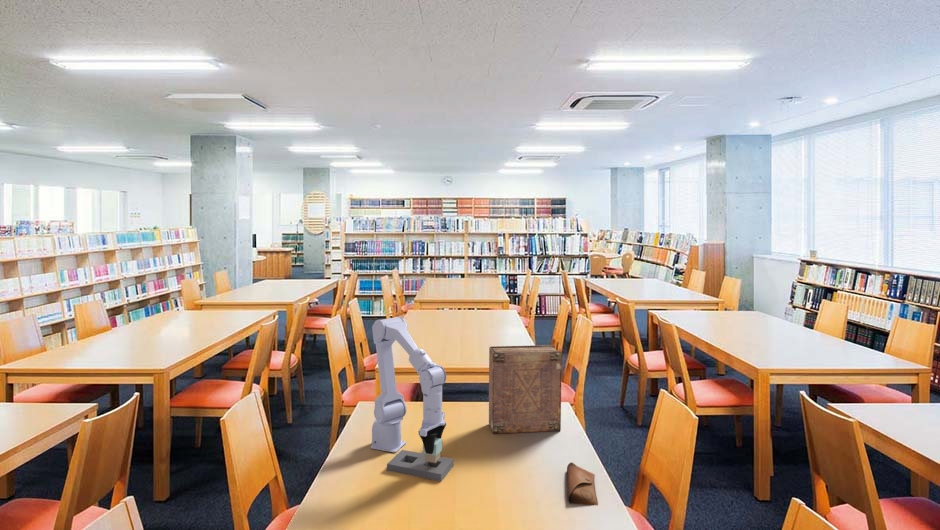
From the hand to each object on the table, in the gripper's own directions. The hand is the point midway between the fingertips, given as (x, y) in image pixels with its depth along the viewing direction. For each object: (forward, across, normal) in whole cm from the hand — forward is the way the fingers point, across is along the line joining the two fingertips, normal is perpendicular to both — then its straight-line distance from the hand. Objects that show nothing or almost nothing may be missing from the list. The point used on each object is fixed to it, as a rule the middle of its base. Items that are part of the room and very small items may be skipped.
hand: (432, 449), depth 150 cm
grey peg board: (+7, 0, +4) cm, 8 cm away
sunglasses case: (+7, +6, -44) cm, 45 cm away
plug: (+3, 0, 0) cm, 3 cm away
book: (+7, +41, -19) cm, 46 cm away
